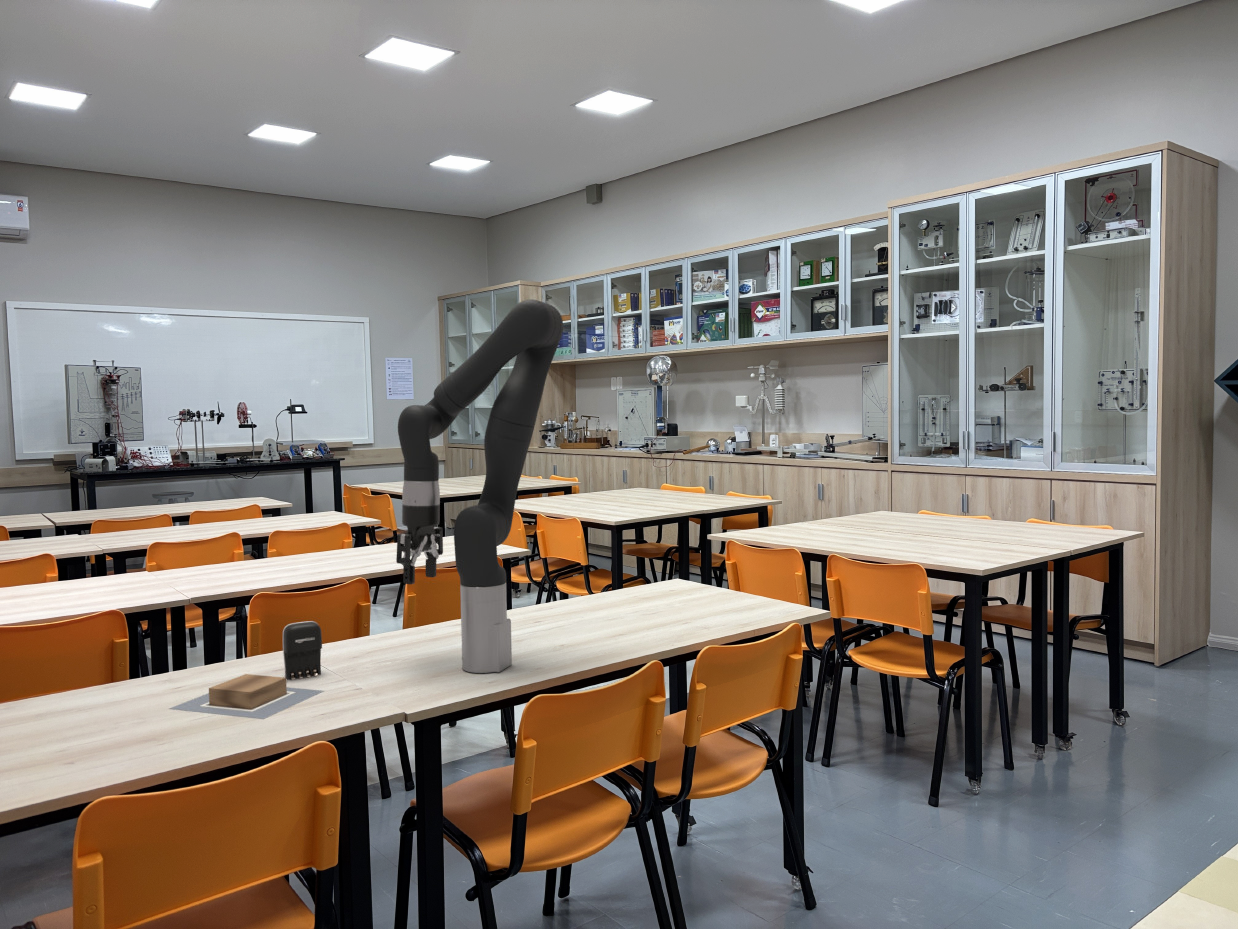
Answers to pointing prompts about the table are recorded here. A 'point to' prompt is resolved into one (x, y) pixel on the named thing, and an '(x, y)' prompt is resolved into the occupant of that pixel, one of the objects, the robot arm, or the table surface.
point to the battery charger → (302, 649)
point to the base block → (247, 691)
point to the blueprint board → (259, 712)
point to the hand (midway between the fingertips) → (420, 580)
